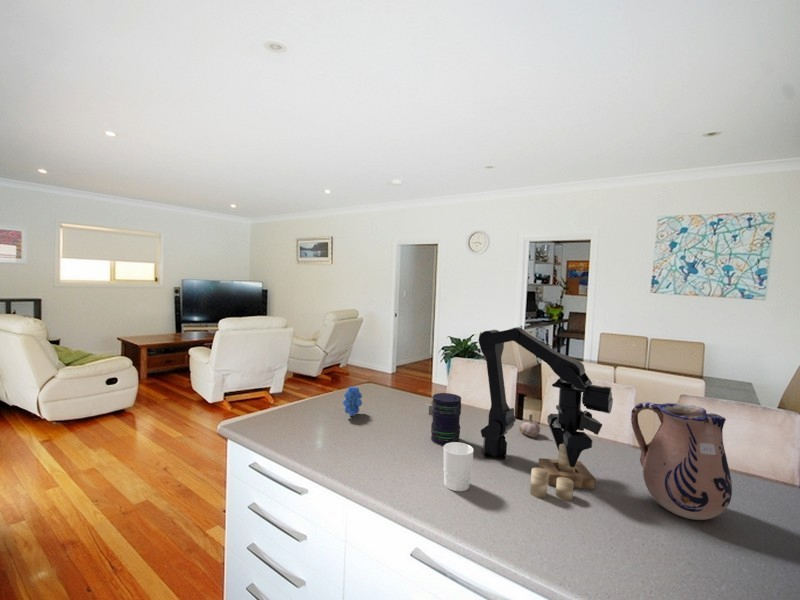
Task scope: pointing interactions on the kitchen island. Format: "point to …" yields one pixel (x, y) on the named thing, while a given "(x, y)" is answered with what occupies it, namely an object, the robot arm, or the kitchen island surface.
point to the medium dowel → (539, 482)
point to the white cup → (457, 465)
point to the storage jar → (445, 418)
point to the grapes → (352, 401)
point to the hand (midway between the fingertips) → (566, 459)
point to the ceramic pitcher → (685, 460)
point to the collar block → (567, 473)
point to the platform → (430, 407)
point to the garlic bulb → (530, 428)
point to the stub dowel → (564, 488)
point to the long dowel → (563, 460)
